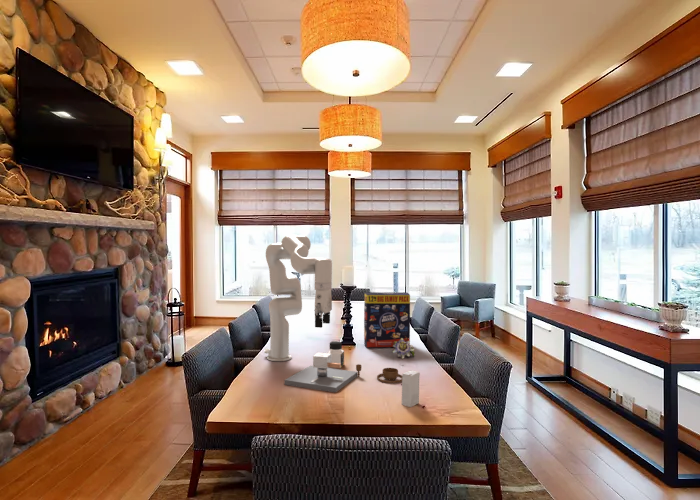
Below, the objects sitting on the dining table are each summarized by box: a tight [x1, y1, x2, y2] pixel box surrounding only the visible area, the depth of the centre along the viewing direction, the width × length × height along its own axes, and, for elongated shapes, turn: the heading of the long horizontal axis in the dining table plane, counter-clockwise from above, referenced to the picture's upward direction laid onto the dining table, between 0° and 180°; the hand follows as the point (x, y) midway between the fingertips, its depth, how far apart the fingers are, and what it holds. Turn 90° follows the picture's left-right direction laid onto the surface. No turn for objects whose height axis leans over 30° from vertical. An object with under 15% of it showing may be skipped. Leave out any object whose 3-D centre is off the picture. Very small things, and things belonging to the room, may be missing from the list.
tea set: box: [355, 363, 402, 384], centre depth 199 cm, size 18×20×6 cm
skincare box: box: [401, 370, 421, 408], centre depth 166 cm, size 6×4×12 cm
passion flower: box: [391, 338, 415, 360], centre depth 236 cm, size 11×11×12 cm
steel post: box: [317, 368, 327, 377], centre depth 194 cm, size 4×4×4 cm
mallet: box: [312, 352, 342, 369], centre depth 193 cm, size 6×11×5 cm, turn 76°
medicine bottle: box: [327, 340, 345, 369], centre depth 217 cm, size 7×7×12 cm
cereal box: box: [363, 291, 411, 349], centre depth 260 cm, size 27×11×32 cm, turn 97°
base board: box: [283, 365, 358, 393], centre depth 194 cm, size 24×24×2 cm
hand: (322, 325), depth 194 cm, fingers open, 9 cm apart
